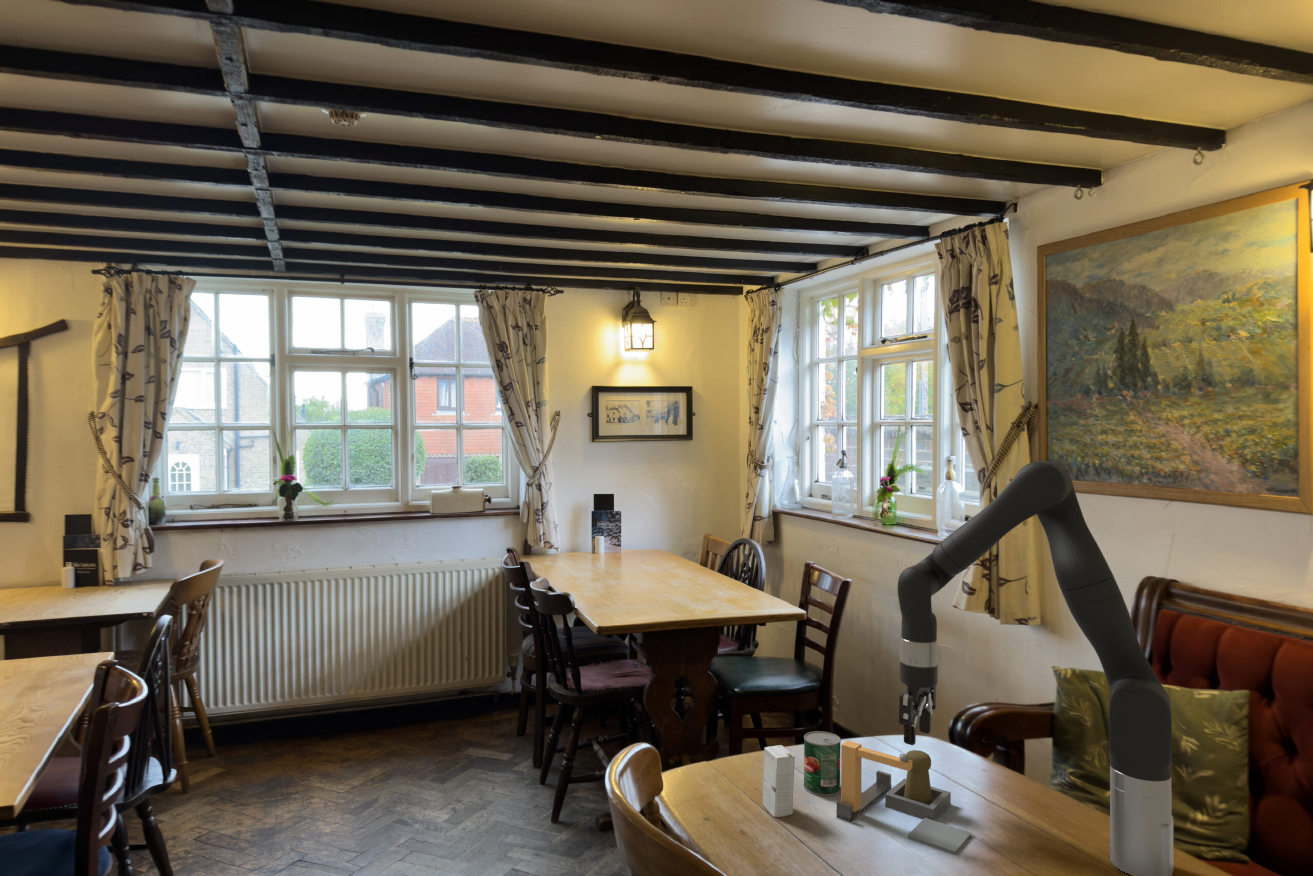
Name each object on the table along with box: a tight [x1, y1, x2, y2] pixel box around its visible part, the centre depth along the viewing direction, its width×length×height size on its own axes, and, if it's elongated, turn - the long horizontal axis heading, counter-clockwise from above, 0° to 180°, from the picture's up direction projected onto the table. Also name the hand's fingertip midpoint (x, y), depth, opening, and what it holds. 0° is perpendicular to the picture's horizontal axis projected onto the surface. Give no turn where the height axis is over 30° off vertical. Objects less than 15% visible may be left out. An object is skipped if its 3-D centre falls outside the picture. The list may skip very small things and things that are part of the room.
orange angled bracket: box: [840, 740, 912, 812], centre depth 150 cm, size 14×3×14 cm, turn 50°
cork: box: [904, 749, 933, 805], centre depth 157 cm, size 6×6×11 cm
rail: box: [836, 770, 892, 823], centre depth 158 cm, size 3×20×3 cm, turn 140°
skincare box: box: [762, 744, 796, 818], centre depth 154 cm, size 6×4×12 cm
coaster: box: [907, 818, 972, 856], centre depth 144 cm, size 9×9×1 cm
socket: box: [884, 778, 952, 821], centre depth 157 cm, size 10×10×2 cm
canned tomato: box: [803, 730, 842, 797], centre depth 164 cm, size 8×8×11 cm
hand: (917, 738), depth 157 cm, fingers open, 8 cm apart
